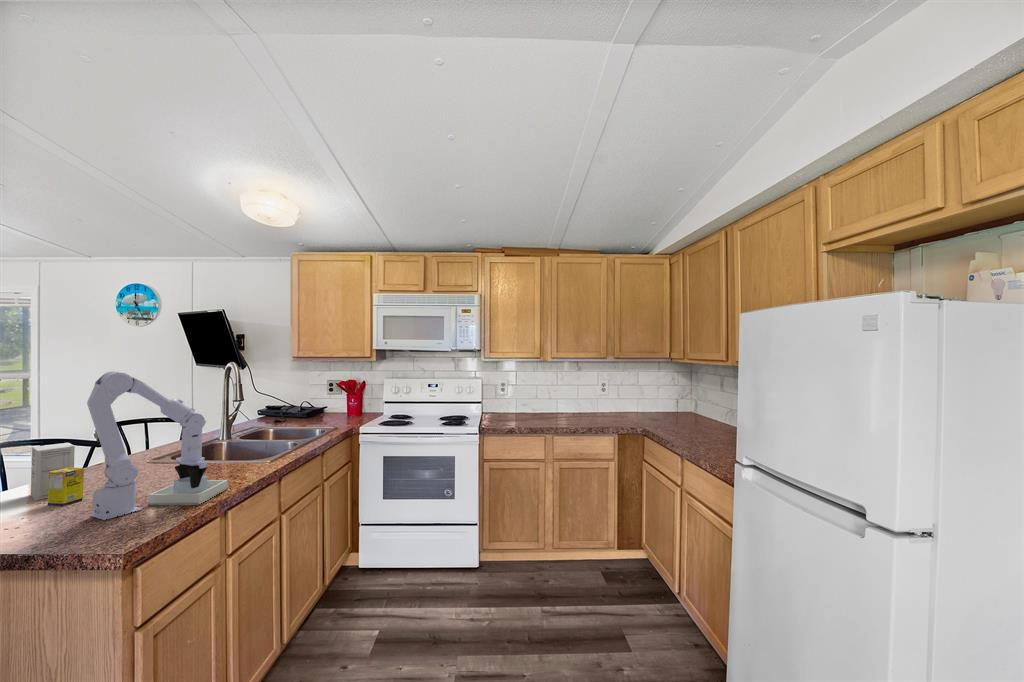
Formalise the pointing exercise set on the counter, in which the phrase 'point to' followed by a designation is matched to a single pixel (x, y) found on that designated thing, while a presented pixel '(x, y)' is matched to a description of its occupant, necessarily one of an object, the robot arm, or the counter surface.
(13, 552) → the counter surface
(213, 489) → the pale green tray
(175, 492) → the small crate
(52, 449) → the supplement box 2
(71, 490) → the supplement box
